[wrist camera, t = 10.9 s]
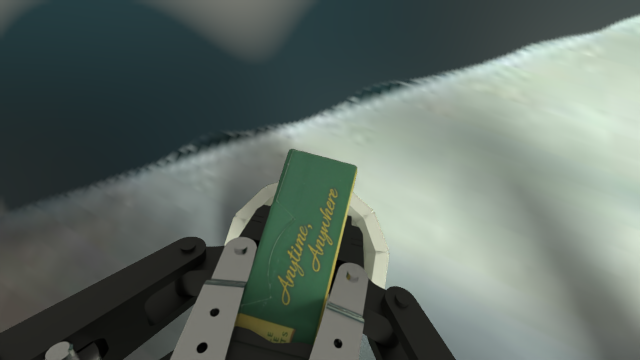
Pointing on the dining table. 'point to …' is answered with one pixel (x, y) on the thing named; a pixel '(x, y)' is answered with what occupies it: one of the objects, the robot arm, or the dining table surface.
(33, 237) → the dining table surface
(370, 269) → the bowl
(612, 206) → the dining table surface
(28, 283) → the dining table surface
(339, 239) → the coffee box
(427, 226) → the dining table surface
